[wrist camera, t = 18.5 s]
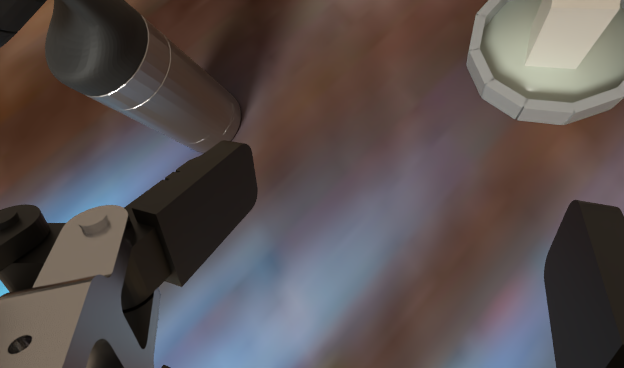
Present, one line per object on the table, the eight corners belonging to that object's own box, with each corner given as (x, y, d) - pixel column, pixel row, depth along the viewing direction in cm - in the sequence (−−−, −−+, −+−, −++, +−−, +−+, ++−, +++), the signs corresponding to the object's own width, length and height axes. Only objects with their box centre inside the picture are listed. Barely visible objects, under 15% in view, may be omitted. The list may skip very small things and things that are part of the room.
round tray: (456, 113, 40) (458, 102, 37) (482, -14, 42) (485, -34, 39) (635, 133, 34) (653, 120, 32) (652, -15, 37) (671, -39, 34)
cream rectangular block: (524, 65, 38) (550, 7, 29) (531, 26, 38) (559, -41, 30) (575, 69, 36) (619, 9, 28) (582, 28, 37) (626, -43, 29)
